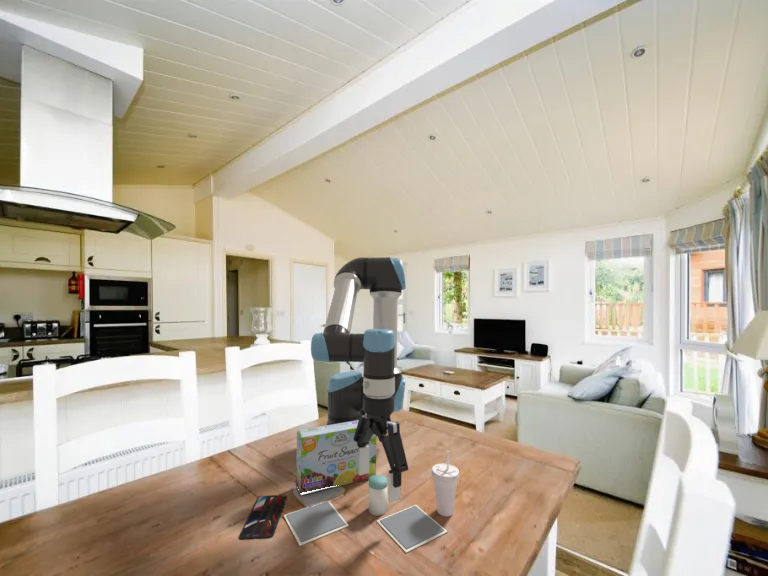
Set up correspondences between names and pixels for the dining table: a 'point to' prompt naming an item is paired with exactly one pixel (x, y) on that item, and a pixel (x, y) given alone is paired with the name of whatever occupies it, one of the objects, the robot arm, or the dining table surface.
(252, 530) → the smartphone
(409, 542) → the mat drink
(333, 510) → the plate
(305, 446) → the snack box
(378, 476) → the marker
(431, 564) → the dining table surface
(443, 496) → the smoothie
